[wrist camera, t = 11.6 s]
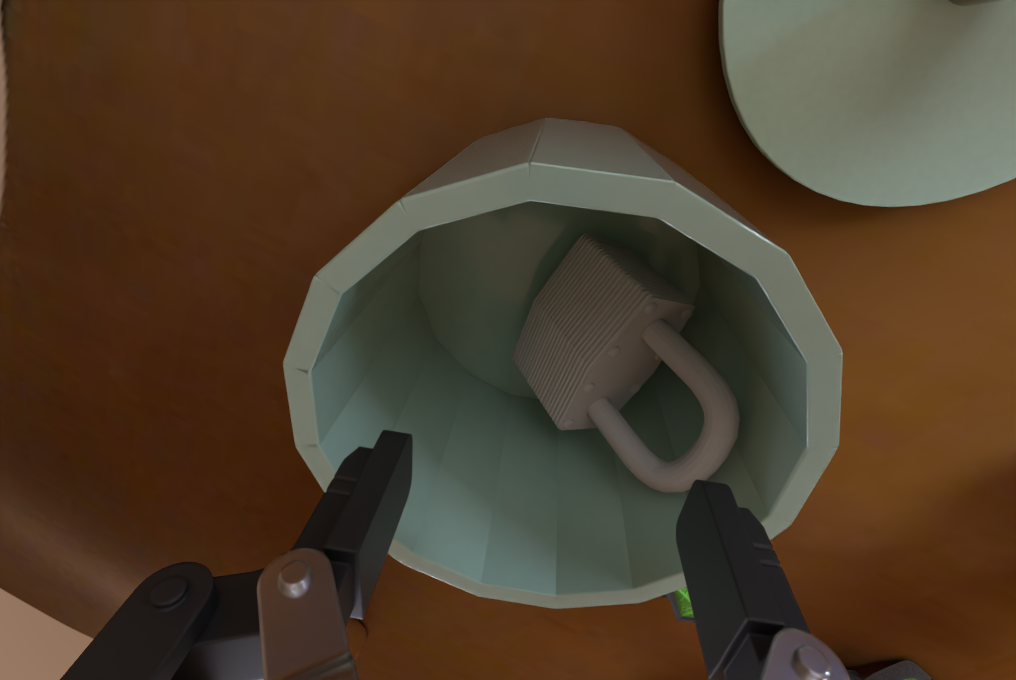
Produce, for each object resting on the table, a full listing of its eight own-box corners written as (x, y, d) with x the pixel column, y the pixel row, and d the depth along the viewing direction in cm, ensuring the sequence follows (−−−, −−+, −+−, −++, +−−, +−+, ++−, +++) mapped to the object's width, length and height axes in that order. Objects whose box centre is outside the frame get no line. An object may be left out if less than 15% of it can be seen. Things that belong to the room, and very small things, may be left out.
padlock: (570, 226, 20) (755, 398, 13) (632, 244, 22) (814, 397, 16) (499, 356, 23) (619, 543, 17) (559, 359, 25) (684, 524, 19)
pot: (406, 98, 20) (244, 123, 10) (762, 144, 20) (978, 221, 10) (405, 385, 28) (312, 569, 18) (663, 423, 28) (724, 637, 17)
